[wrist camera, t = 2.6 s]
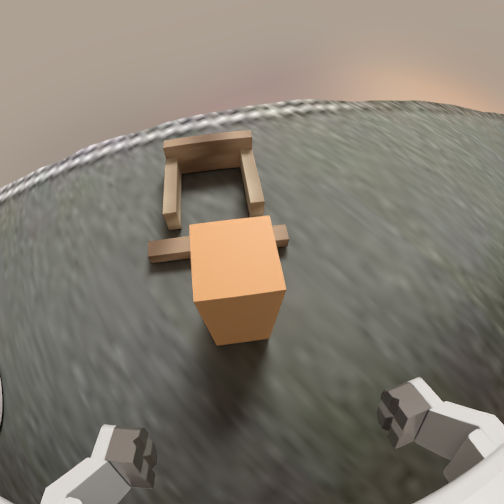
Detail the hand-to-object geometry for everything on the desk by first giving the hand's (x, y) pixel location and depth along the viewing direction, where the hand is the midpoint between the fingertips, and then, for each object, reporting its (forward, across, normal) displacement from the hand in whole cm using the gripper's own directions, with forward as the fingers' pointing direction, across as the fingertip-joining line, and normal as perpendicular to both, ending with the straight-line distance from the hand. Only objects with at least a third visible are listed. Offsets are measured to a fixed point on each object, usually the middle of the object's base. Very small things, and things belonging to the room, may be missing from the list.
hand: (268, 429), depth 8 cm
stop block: (+14, 0, +3) cm, 14 cm away
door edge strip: (+18, +1, -2) cm, 18 cm away
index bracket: (+23, +1, -6) cm, 24 cm away
